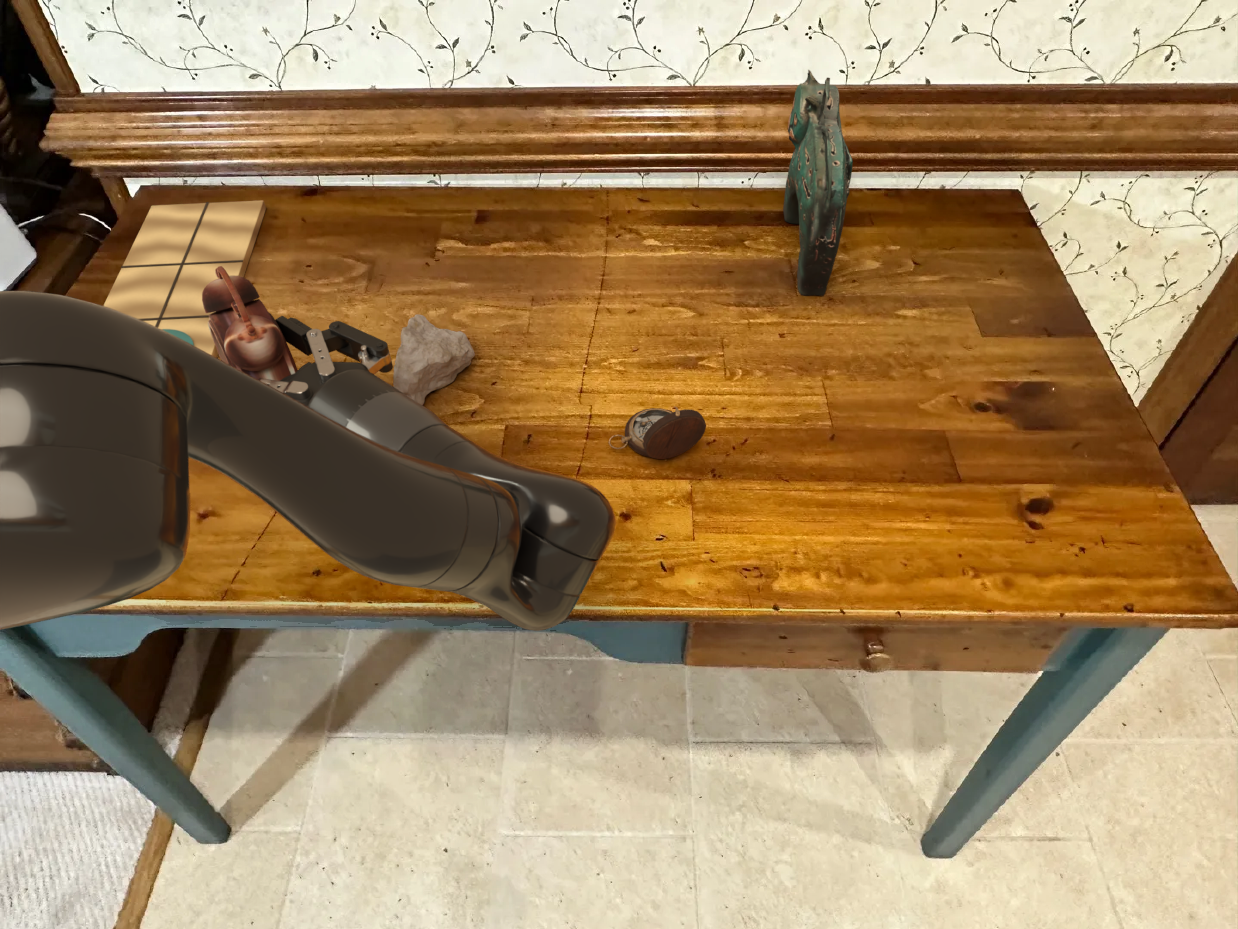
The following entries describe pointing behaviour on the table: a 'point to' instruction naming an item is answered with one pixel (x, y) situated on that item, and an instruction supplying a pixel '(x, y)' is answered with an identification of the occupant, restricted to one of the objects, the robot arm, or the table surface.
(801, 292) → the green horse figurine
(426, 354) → the stone
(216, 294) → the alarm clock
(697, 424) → the compass
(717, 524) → the table surface
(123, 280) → the board
